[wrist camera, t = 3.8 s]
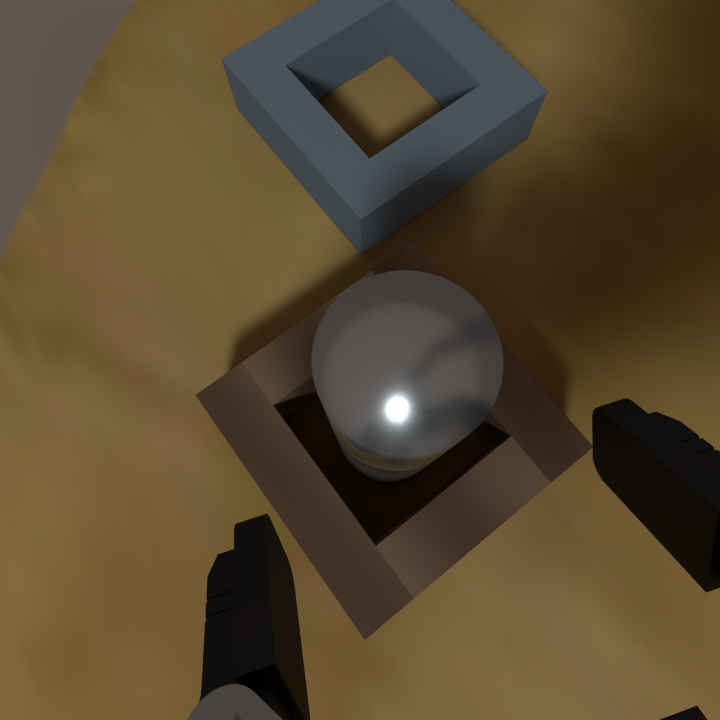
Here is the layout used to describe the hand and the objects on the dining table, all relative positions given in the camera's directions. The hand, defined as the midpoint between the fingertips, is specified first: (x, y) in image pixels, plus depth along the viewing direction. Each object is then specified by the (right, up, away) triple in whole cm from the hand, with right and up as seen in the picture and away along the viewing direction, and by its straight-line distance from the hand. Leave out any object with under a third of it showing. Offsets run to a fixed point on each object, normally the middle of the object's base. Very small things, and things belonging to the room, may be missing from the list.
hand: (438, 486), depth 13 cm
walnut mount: (-1, 0, +9) cm, 9 cm away
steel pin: (-1, 0, +9) cm, 9 cm away
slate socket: (-1, +14, +13) cm, 20 cm away
